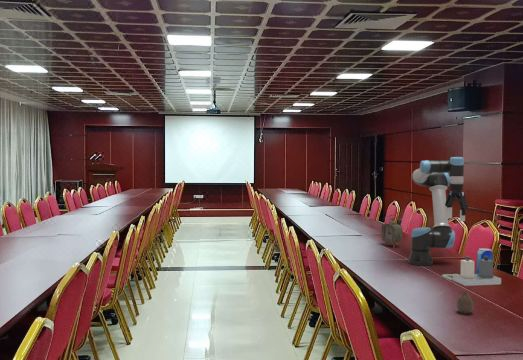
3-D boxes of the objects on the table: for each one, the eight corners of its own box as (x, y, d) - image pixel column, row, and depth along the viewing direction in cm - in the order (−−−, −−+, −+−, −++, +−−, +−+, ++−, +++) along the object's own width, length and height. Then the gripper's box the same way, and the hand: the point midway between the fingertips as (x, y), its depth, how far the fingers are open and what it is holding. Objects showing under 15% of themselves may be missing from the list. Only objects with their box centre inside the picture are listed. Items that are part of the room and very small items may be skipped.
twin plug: (478, 281, 271) (479, 255, 270) (487, 280, 272) (487, 254, 271) (484, 283, 266) (484, 256, 265) (492, 282, 267) (493, 256, 266)
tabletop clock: (381, 245, 389) (382, 214, 388) (390, 244, 393) (391, 213, 392) (393, 248, 376) (394, 215, 375) (403, 247, 380) (403, 215, 379)
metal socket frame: (452, 281, 272) (452, 274, 272) (487, 280, 276) (487, 273, 275) (465, 287, 260) (465, 279, 260) (501, 285, 264) (501, 278, 264)
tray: (442, 277, 282) (442, 274, 282) (456, 277, 284) (456, 273, 283) (450, 281, 273) (450, 278, 273) (466, 280, 274) (466, 277, 274)
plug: (468, 281, 270) (469, 255, 269) (474, 283, 265) (474, 257, 264) (460, 281, 269) (460, 255, 269) (465, 283, 264) (466, 257, 264)
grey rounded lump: (468, 310, 221) (469, 290, 220) (476, 314, 214) (476, 294, 214) (453, 310, 221) (454, 290, 220) (460, 314, 214) (460, 295, 213)
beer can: (483, 278, 279) (483, 250, 279) (473, 275, 288) (473, 248, 287) (495, 277, 282) (496, 250, 281) (485, 274, 290) (485, 247, 289)
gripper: (439, 182, 298) (438, 217, 298) (462, 184, 273) (462, 222, 274) (450, 182, 299) (450, 217, 300) (475, 184, 274) (474, 222, 275)
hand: (455, 219), depth 287 cm, fingers open, 13 cm apart
